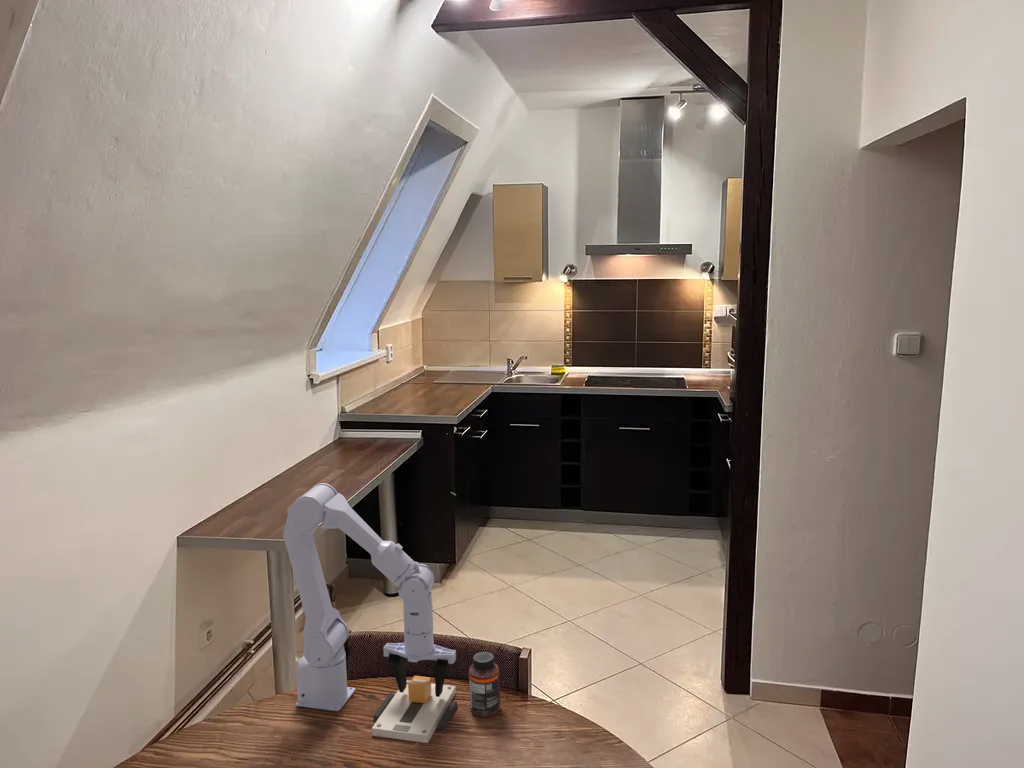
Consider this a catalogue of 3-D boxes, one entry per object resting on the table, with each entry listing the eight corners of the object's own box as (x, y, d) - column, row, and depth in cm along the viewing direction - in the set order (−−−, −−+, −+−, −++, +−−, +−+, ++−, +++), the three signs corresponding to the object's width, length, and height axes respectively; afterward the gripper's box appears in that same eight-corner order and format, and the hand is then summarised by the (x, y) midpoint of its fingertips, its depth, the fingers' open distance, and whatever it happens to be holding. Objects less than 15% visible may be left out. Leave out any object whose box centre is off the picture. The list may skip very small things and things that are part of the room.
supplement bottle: (483, 697, 154) (482, 645, 152) (506, 708, 150) (505, 654, 148) (463, 711, 149) (462, 657, 147) (486, 722, 145) (485, 667, 144)
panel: (372, 735, 142) (371, 727, 142) (405, 686, 158) (405, 679, 158) (427, 743, 139) (427, 735, 139) (455, 692, 156) (455, 685, 155)
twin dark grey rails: (373, 720, 146) (373, 715, 146) (389, 697, 154) (389, 693, 154) (444, 729, 143) (444, 724, 143) (457, 706, 151) (456, 701, 151)
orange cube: (408, 701, 150) (408, 684, 149) (415, 691, 153) (414, 675, 152) (425, 703, 149) (424, 686, 148) (431, 693, 152) (430, 677, 152)
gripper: (376, 633, 147) (379, 698, 149) (447, 641, 144) (449, 707, 146) (390, 617, 154) (392, 679, 156) (458, 624, 150) (460, 687, 152)
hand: (420, 691), depth 151 cm, fingers open, 7 cm apart
